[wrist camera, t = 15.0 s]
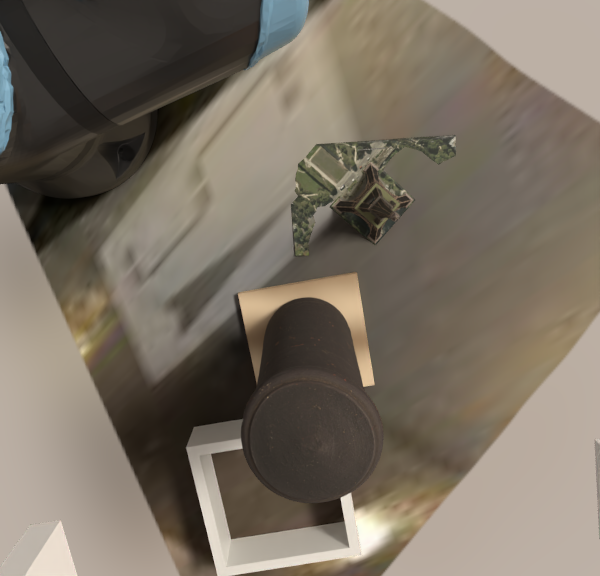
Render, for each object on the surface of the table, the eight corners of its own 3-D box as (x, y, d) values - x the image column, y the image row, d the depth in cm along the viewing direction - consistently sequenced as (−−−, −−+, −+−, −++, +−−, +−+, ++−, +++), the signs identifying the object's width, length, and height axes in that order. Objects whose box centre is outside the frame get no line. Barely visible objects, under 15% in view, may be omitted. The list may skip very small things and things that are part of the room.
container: (268, 390, 53) (252, 523, 34) (253, 300, 51) (226, 386, 32) (358, 378, 53) (394, 505, 34) (347, 287, 51) (377, 365, 32)
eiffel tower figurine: (456, 132, 49) (513, 123, 36) (457, 246, 52) (512, 276, 39) (286, 145, 50) (282, 142, 36) (295, 259, 52) (294, 293, 39)
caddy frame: (194, 426, 55) (186, 447, 51) (335, 403, 54) (338, 422, 51) (223, 549, 58) (218, 577, 54) (357, 528, 58) (361, 554, 54)
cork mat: (238, 292, 52) (237, 294, 51) (356, 271, 52) (356, 273, 51) (261, 401, 54) (260, 403, 54) (373, 382, 54) (374, 384, 53)
